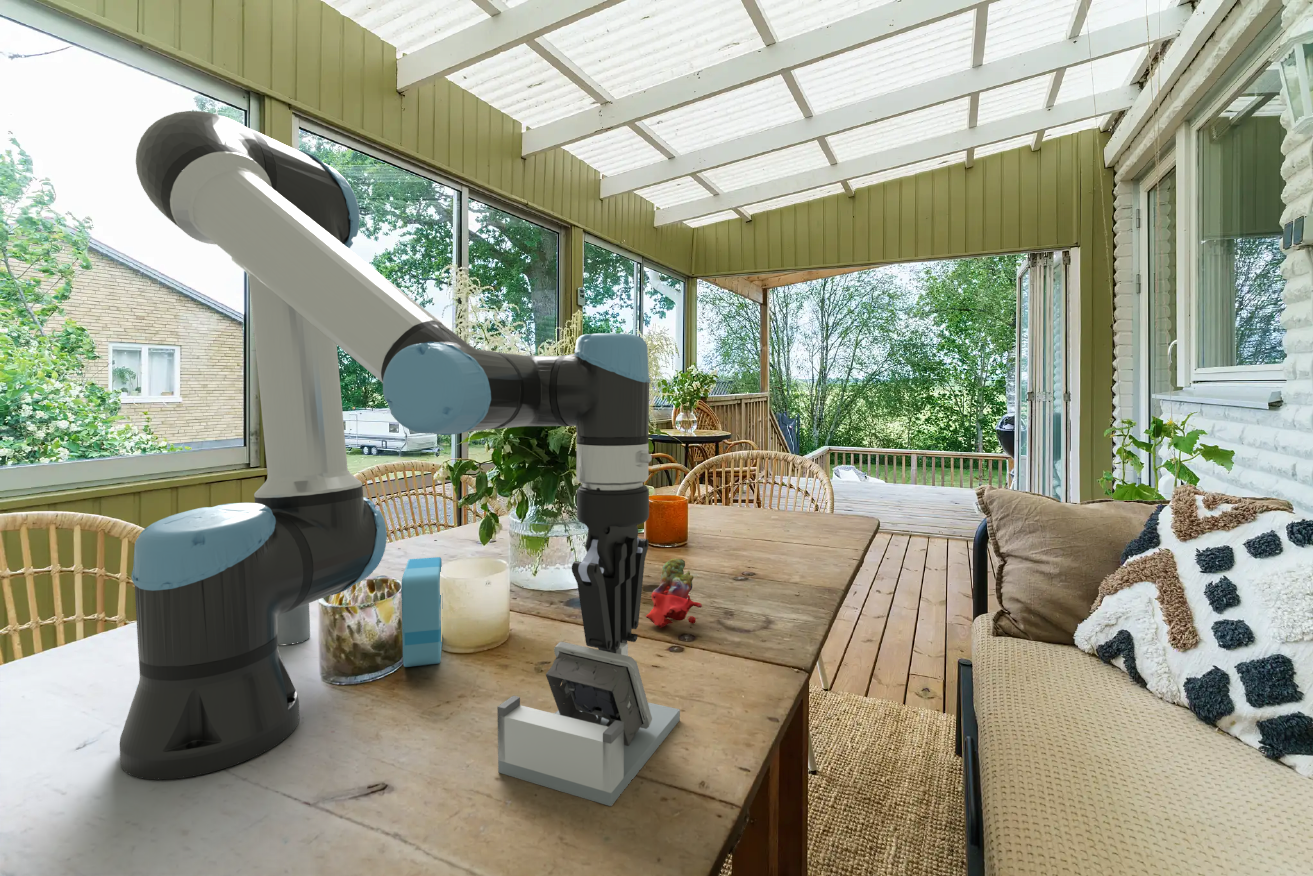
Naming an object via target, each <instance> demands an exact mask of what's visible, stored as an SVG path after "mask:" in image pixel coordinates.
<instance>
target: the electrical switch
mask: <svg viewBox="0 0 1313 876" xmlns="http://www.w3.org/2000/svg"><path fill="white" fill-rule="evenodd" d="M553 651H554V655H555V657H556V658H554V660H553V663H552V665H551V666H550V668H549V669H548V671H547V672H546V673H545V677H546V679H547V680H546V681H547V682H548V683H547V684H548V686H549V688H550V690H551V695H552V696H553V699H554V701H555V703H556V708H557V711H558V710H559V713H560V715H562V716H566V717H570V718H574V719H579V720H583V721H587V722H591V723H595V724H599V725H600V722H601V719H602V717H603V718H605V719H608V720H609V722H608V723H607V724H606V726H607V727H609V726H610V725H611V724H612V723H613V722H614V721H615V720H618V721H622V722H624V745H626V746H629V745H630V743H631V741H632V739H633V737H634V736H635V735H636V733H637V732H638V730H639V728H640V727H641V728H644V729H647V728H648V727H649V726H650V723H651V721H652V716H651V713H650V709H649V705H648V698H647V696H646V692H645V688H644V684H643V680H642V678H641V673H640V669H639V665H638V662H637V661H636V660H635V659H634V658H633V657H632V656H630V655H628V656H625V655H620V654H616V653H611V652H607V651H602V650H599V649H598V648H594V647H589V646H583V645H580V644H574V643H570V642H565V641H559V642H558V643H557V644H556V646H554V649H553ZM580 711H582V712H580ZM596 715H597V717H598V719H597V717H596ZM599 717H600V718H599Z"/></svg>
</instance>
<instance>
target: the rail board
mask: <svg viewBox="0 0 1313 876" xmlns="http://www.w3.org/2000/svg"><path fill="white" fill-rule="evenodd" d="M647 702H648V701H647ZM648 705H649V709H650V713H651V716H652V721H651V723H650V726H649V727H648V728H647V729H644V728H641V727H640V728H639V730H638V732H637V733H636V735H635V736H634V737H633V739H632V741H631V743H630V745H629V746H626V745H624V722H622V721H618V720H615V721H614V722H613V723H612V724H611V725H610V726H609V727H607V726H606V724H607V723H608V722H609V720H608V719H605V718H603V717H602V719H601V722H600V725H599V724H595V723H591V722H587V721H583V720H579V719H574V718H570V717H566V716H562V715H560V713H559V710H558V709H557V711H555V712H549V711H545V710H541V709H536V708H533V707H528V706H525V705H521V697H520V696H518V695H512V696H511V697H509V698H507V699H506V700H505V701H504V702H502V703H501V704H499V705H498V706H497V767H498V768H497V770H498V773H499V774H503V775H505V776H509V777H512V778H515V779H520V780H522V781H526V782H528V783H531V784H536V785H538V786H542V787H546V788H548V789H551V790H554V791H555V790H556V791H559V792H562V793H566V794H569V795H572V796H575V797H578V798H582V799H585V800H588V801H593V802H595V803H598V804H601V805H604V806H605V805H606V806H608V807H613V805H614V803H615V802H616V801H617V800H618V798H619V797H620V796H621V795H622V794H623V792H624V791H625V790H624V789H626V788H628V786H629V785H630V783H631V782H632V781H633V780H632V779H634V778H635V777H636V775H638V773H639V772H640V771H641V769H643V767H644V765H646V763H647V762H648V761H649V760H650V758H652V755H653V754H654V753H655V752H656V750H658V748H659V747H660V746H661V744H662V743H663V742H664V741H665V739H666V738H667V737H668V736H669V734H670V733H671V732H672V730H674V728H676V725H677V724H678V723H679V722H680V720H681V719H680V718H681V710H680V708H675V707H670V706H666V705H662V704H657V703H652V702H648ZM580 712H582V711H580ZM596 717H597V715H596ZM599 718H600V717H599ZM597 719H598V717H597ZM659 745H660V746H659ZM639 770H640V771H639ZM631 780H632V781H631ZM628 784H629V785H628ZM620 794H621V795H620Z"/></svg>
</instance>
